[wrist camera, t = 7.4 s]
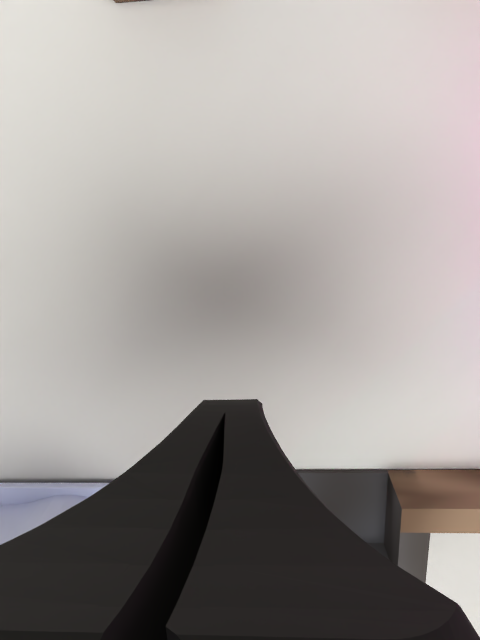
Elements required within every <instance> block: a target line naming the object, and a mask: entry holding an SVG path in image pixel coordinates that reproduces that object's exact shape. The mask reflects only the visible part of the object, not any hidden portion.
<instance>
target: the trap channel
mask: <svg viewBox="0 0 480 640" xmlns="http://www.w3.org/2000/svg"><path fill="white" fill-rule="evenodd" d="M114 1H115V2H116V3H121V2H132V1H143V0H114ZM296 471H297V473H298V474H299V475H300V476H301V478H302V479H303V480H304V482H305V483H306V484H307V485H308V487H309V488H310V489H311V490H312V491H313V492H314V493H315V494H316V496H317V497H318V498H319V499H320V500H321V501H322V502H323V503H324V504H325V505H326V506H327V507H328V508H329V509H330V510H331V511H332V513H333V514H334V515H335V516H336V517H337V518H339V519H340V520H341V521H342V522H343V523H344V524H345V525H347V526H348V527H349V528H350V529H351V530H352V531H353V532H355V533H356V534H357V535H358V536H359V537H360V538H361V539H363V540H364V541H365V542H366V543H367V544H369V545H370V546H371V547H373V548H374V549H375V550H377V551H378V552H379V553H381V554H382V555H384V556H385V557H386V558H388V559H389V560H390V561H392V562H393V563H394V564H396V565H397V566H399V567H400V568H402V569H403V570H405V571H407V572H408V573H410V574H411V575H413V576H414V577H416V578H418V579H419V580H421V581H422V582H424V583H425V581H426V571H427V561H428V550H429V540H430V533H480V470H296Z"/></svg>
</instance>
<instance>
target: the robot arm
mask: <svg viewBox="0 0 480 640" xmlns="http://www.w3.org/2000/svg"><path fill="white" fill-rule="evenodd" d="M0 640H480V637H479V636H478V634H477V633H476V631H475V629H474V628H473V626H472V624H471V623H470V621H469V620H468V618H467V617H466V615H465V613H464V612H463V610H462V609H461V607H460V606H459V605H458V604H457V603H456V602H454V601H453V600H451V599H449V598H448V597H446V596H445V595H443V594H441V593H440V592H438V591H437V590H435V589H433V588H432V587H430V586H429V585H427V584H426V583H424V582H422V581H421V580H419V579H418V578H416V577H414V576H413V575H411V574H410V573H408V572H407V571H405V570H403V569H402V568H400V567H399V566H397V565H396V564H394V563H393V562H392V561H390V560H389V559H388V558H386V557H385V556H384V555H382V554H381V553H379V552H378V551H377V550H375V549H374V548H373V547H371V546H370V545H369V544H367V543H366V542H365V541H364V540H363V539H361V538H360V537H359V536H358V535H357V534H356V533H355V532H353V531H352V530H351V529H350V528H349V527H348V526H347V525H345V524H344V523H343V522H342V521H341V520H340V519H339V518H337V517H336V516H335V515H334V514H333V513H332V511H331V510H330V509H329V508H328V507H327V506H326V505H325V504H324V503H323V502H322V501H321V500H320V499H319V498H318V497H317V496H316V494H315V493H314V492H313V491H312V490H311V489H310V488H309V487H308V485H307V484H306V483H305V482H304V480H303V479H302V478H301V476H300V475H299V474H298V473H297V471H296V470H295V468H294V467H293V466H292V464H291V463H290V461H289V460H288V458H287V457H286V455H285V454H284V452H283V451H282V449H281V447H280V446H279V444H278V442H277V440H276V439H275V437H274V435H273V433H272V431H271V429H270V427H269V425H268V423H267V421H266V418H265V415H264V412H263V408H262V403H261V402H259V401H258V400H257V399H251V400H203V401H202V402H201V403H200V404H199V405H198V406H197V407H196V408H195V409H194V410H193V411H192V412H191V413H190V414H189V415H188V416H187V417H186V418H185V419H184V420H183V421H182V422H181V423H180V424H179V425H178V426H177V427H176V428H175V429H174V430H173V431H172V432H171V433H170V434H169V435H168V436H167V437H166V438H165V439H164V440H163V441H162V442H161V443H160V444H158V445H157V446H156V447H155V448H154V449H152V450H151V451H150V452H149V453H148V454H147V455H145V456H144V457H143V458H142V459H141V460H140V461H138V462H137V463H136V464H135V465H134V466H132V467H131V468H130V469H129V470H127V471H126V472H125V473H123V474H122V475H121V476H119V477H118V478H116V479H115V480H114V481H112V482H111V483H0Z"/></svg>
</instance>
